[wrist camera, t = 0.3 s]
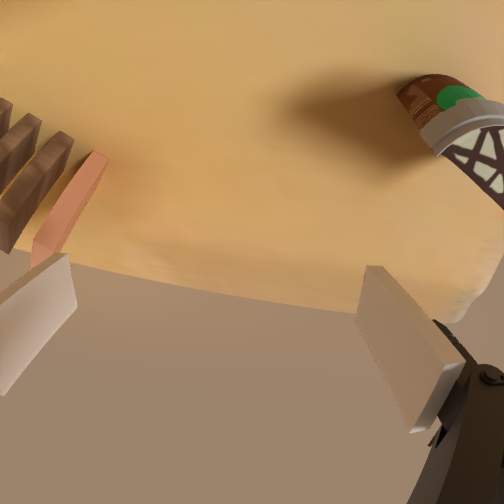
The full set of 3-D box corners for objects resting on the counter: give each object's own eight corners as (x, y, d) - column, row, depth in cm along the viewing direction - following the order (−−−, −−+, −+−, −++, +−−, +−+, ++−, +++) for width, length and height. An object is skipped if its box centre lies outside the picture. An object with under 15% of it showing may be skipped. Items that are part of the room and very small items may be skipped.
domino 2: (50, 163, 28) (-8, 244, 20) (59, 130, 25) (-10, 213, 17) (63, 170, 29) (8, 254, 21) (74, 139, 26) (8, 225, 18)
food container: (507, 116, 19) (566, 183, 13) (471, 157, 24) (518, 231, 17) (422, 31, 16) (494, 73, 9) (382, 86, 20) (430, 151, 14)
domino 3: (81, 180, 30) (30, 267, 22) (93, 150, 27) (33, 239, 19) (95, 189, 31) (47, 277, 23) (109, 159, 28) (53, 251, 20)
